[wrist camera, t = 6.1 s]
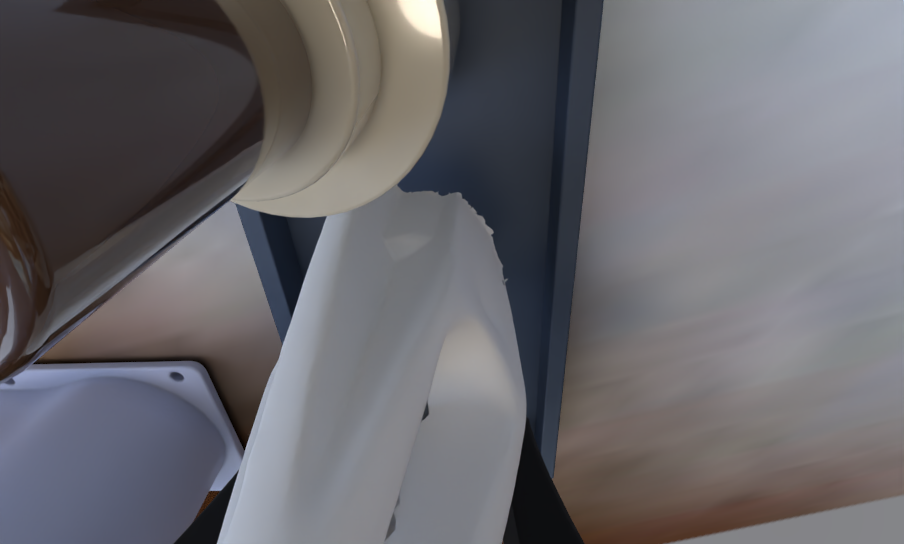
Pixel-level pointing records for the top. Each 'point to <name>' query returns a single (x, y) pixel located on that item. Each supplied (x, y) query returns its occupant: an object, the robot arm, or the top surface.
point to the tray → (496, 177)
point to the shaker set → (390, 388)
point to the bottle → (192, 131)
